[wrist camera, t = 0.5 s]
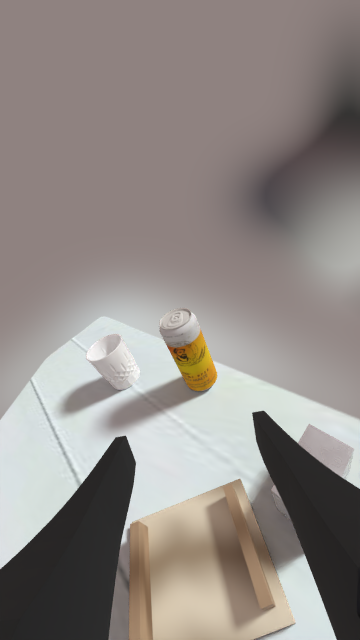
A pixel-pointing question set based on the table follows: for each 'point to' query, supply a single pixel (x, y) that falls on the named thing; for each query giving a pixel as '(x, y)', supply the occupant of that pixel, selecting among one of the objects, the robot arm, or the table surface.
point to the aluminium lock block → (321, 457)
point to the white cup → (114, 361)
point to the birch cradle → (204, 572)
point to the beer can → (188, 348)
